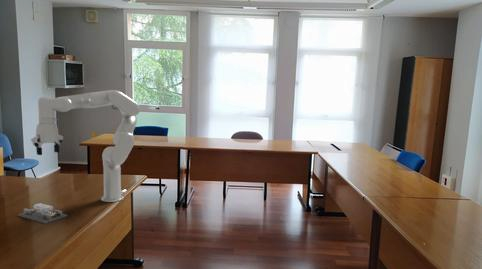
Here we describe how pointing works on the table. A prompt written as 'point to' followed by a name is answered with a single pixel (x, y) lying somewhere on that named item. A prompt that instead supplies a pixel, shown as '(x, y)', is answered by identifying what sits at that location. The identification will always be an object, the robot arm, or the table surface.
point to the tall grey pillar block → (42, 209)
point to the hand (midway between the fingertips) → (48, 153)
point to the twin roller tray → (44, 216)
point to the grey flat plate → (39, 218)
